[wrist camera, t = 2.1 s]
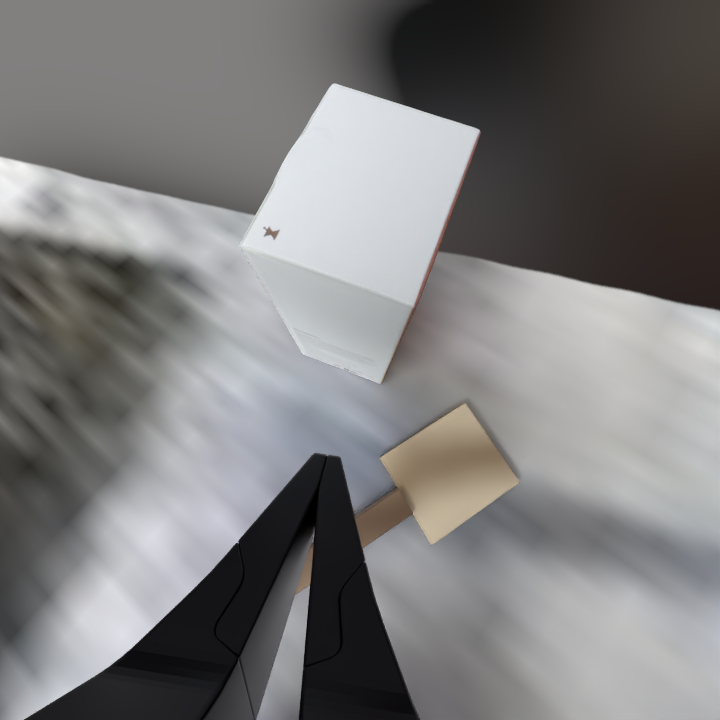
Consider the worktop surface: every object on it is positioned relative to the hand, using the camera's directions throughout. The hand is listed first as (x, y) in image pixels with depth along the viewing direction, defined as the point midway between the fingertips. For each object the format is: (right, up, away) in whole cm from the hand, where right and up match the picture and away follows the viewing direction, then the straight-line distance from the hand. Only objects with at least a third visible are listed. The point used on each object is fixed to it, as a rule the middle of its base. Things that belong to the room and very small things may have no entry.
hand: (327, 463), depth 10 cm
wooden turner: (+3, -6, +10) cm, 12 cm away
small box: (+1, +6, +14) cm, 15 cm away
